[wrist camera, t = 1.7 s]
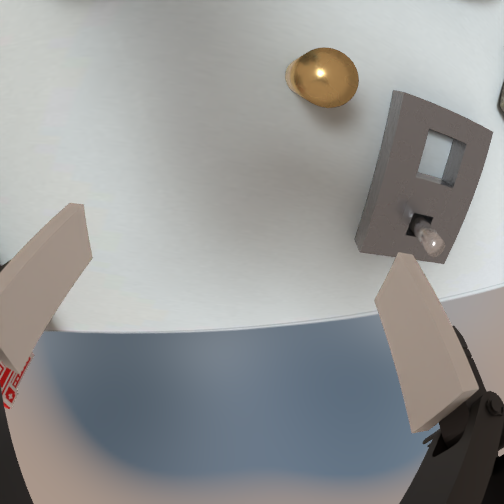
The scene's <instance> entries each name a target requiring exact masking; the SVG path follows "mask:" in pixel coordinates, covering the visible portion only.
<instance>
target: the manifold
mask: <svg viewBox="0 0 504 504" xmlns="http://www.w3.org/2000/svg"><path fill="white" fill-rule="evenodd" d="M429 129H432V130H434V131H437V132H439V133H442V134H445V135H447V136H450V137H452V138H454V139H453V143H452V147H451V150H450V154H449V157H448V161H447V164H446V167H445V171H444V174H443V177H442V179H440V178H437V177H433V176H430V175H427V174H423V173H420V172H417V171H418V168H419V164H420V161H421V157H422V154H423V150H424V146H425V142H426V139H427V135H428V131H429ZM492 134H493V132H492V131H490V130H488V129H487V128H485V127H483V126H481V125H479V124H477V123H475V122H473V121H471V120H469V119H467V118H465V117H463V116H461V115H459V114H456V113H454V112H452V111H450V110H448V109H445V108H443V107H441V106H438V105H436V104H434V103H431V102H429V101H426V100H424V99H421V98H418V97H416V96H413V95H410V94H407V93H405V92H400V91H395V90H393V94H392V99H391V104H390V109H389V114H388V119H387V123H386V128H385V132H384V137H383V141H382V145H381V149H380V153H379V157H378V161H377V165H376V169H375V172H374V176H373V180H372V183H371V187H370V191H369V194H368V197H367V201H366V204H365V208H364V211H363V214H362V217H361V221H360V224H359V227H358V230H357V233H356V236H355V242H356V244H357V246H358V249H359V251H360V252H362V253H370V254H377V255H385V256H392V257H396V256H397V254H398V252H401V253H406V254H412V255H413V256H414V258H415V259H416V260H420V261H427V262H434V263H441V264H444V263H445V261H446V259H447V257H448V255H449V252H450V250H451V248H452V246H453V244H454V242H455V240H456V237H457V235H458V233H459V231H460V228H461V226H462V224H463V221H464V219H465V216H466V214H467V211H468V209H469V206H470V204H471V201H472V199H473V196H474V193H475V190H476V187H477V185H478V182H479V179H480V176H481V173H482V170H483V166H484V163H485V160H486V157H487V153H488V150H489V146H490V142H491V138H492Z"/></svg>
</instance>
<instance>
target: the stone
mask: <svg viewBox="0 0 504 504" xmlns="http://www.w3.org/2000/svg"><path fill="white" fill-rule="evenodd" d="M500 106H501V109H502V110H503V112H504V85H503V91H502V95H501V101H500Z"/></svg>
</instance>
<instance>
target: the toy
mask: <svg viewBox="0 0 504 504" xmlns="http://www.w3.org/2000/svg"><path fill="white" fill-rule="evenodd" d="M33 357H34V354H33V352H32V353H31V354H30V356H29V358H28V360H27V362H26V364H25V366H24V367H23V369H22V371H21V373H20V374H18V373H16V372H14V371H13V370H11V369H9V368H7V367H6V366H5V365H4V364H3V363H2V361H1V360H0V384H1V391H2V397H3V403H4V407H6V408H8V409H10V408H12V406H13V404H14V402H15V399H16V397H17V395H18V393H17V392H18V390H17V388H18V386H19V384H20V382H21V380H22V378H23V376H24V374H25V372H26V370H27V368H28V366H29V364H30V362H31V361H32V359H33Z"/></svg>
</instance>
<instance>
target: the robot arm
mask: <svg viewBox="0 0 504 504" xmlns="http://www.w3.org/2000/svg"><path fill="white" fill-rule="evenodd" d="M92 258H93V257H92V252H91V247H90V242H89V236H88V231H87V225H86V218H85V211H84V205H83V204H75V203H69V204H68V205H67V206H66V207H65V208H63V209H62V210H61V211H60V212H59V213H58V214H57V215H56V216H55V217H53V218H52V219H51V220H50V221H49V222H48V223H47V224H46V225H45V226H44V227H43V228H42V229H41V230H40V231H39V232H38V233H37V234H36V235H35V236H34V237H33V238H32V239H31V240H30V241H29V242H28V243H27V244H26V245H25V246H24V247H23V248H22V249H21V250H20V251H19V252H18V253H17V254H16V255H15V257H14V258H13V259H12V260H10V261H9V262H7V263H6V264H4V265H3V266H1V267H0V360H1V361H2V363H3V364H4V365H5V366H6V367H7V368H9V369H11V370H13V371H14V372H16V373H18V374H20V373H21V371H22V369H23V367H24V366H25V364H26V362H27V360H28V358H29V356H30V354H31V353H32V351H33V349H34V347H35V345H36V344H37V342H38V340H39V338H40V336H41V335H42V333H43V332H44V330H45V328H46V327H47V325H48V323H49V322H50V320H51V318H52V317H53V315H54V314H55V312H56V311H57V309H58V307H59V306H60V304H61V303H62V301H63V300H64V298H65V297H66V295H67V294H68V292H69V291H70V289H71V288H72V286H73V285H74V283H75V282H76V281H77V279H78V278H79V276H80V275H81V273H82V272H83V271H84V269H85V268H86V266H87V265H88V264H89V262H90V261H91V260H92ZM374 301H375V304H376V307H377V310H378V313H379V316H380V319H381V321H382V325H383V328H384V331H385V334H386V337H387V340H388V344H389V347H390V350H391V353H392V357H393V360H394V364H395V367H396V371H397V374H398V378H399V382H400V385H401V389H402V393H403V397H404V401H405V405H406V409H407V414H408V418H409V423H410V427H411V432H412V433H416V432H421V431H427V430H429V429H431V428H432V427H433V426H435V425H436V424H437V423H439V425H440V429H439V430H437V431H436V432H435V433H433V434H432V435H430V436H429V437H427V438H426V439H425V440H424V441H423V444H425V443H427V442H428V441H430V440H432V439H433V440H432V442H431V443H430V444H429V445H428V447H429V449H428V451H427V453H426V455H425V457H424V459H423V461H422V463H421V465H420V467H419V470H418V472H417V473H416V475H415V477H414V479H413V481H412V483H411V485H410V487H409V488H408V490H407V492H406V493H405V495H404V497H403V499H402V500H401V502H400V504H504V454H503V455H502V456H500V457H499V456H498V451H499V450H500V449H502V448H504V404H503V402H502V400H501V399H500V397H499V396H498V395H497V394H496V393H494V392H491V391H488V392H486V389H485V387H484V385H483V382H482V379H481V377H480V375H479V372H478V370H477V367H476V365H475V362H474V360H473V358H471V353H470V351H469V350H468V349H467V344H466V342H465V340H464V338H463V336H462V335H461V334H460V332H459V331H458V330H457V329H456V328H455V326H452V325H451V323H450V321H449V319H448V317H447V315H446V313H445V311H444V309H443V307H442V305H441V303H440V301H439V299H438V298H437V296H436V294H435V292H434V290H433V288H432V287H431V285H430V283H429V281H428V279H427V278H426V276H425V274H424V273H423V271H422V269H421V267H420V266H419V264H418V262H417V261H416V259H415V258H414V256H413V255H412V254H406V253H401V252H398V254H397V256H396V258H395V261H394V263H393V265H392V267H391V269H390V271H389V273H388V275H387V277H386V279H385V281H384V283H383V285H382V287H381V289H380V291H379V292H378V294H377V296H376V298H375V300H374ZM0 504H33V501H32V499H31V497H30V494H29V492H28V489H27V487H26V484H25V481H24V479H23V476H22V473H21V470H20V467H19V464H18V461H17V458H16V454H15V451H14V447H13V444H12V440H11V436H10V432H9V428H8V423H7V418H6V414H5V409H4V403H3V397H2V391H1V384H0Z"/></svg>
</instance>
